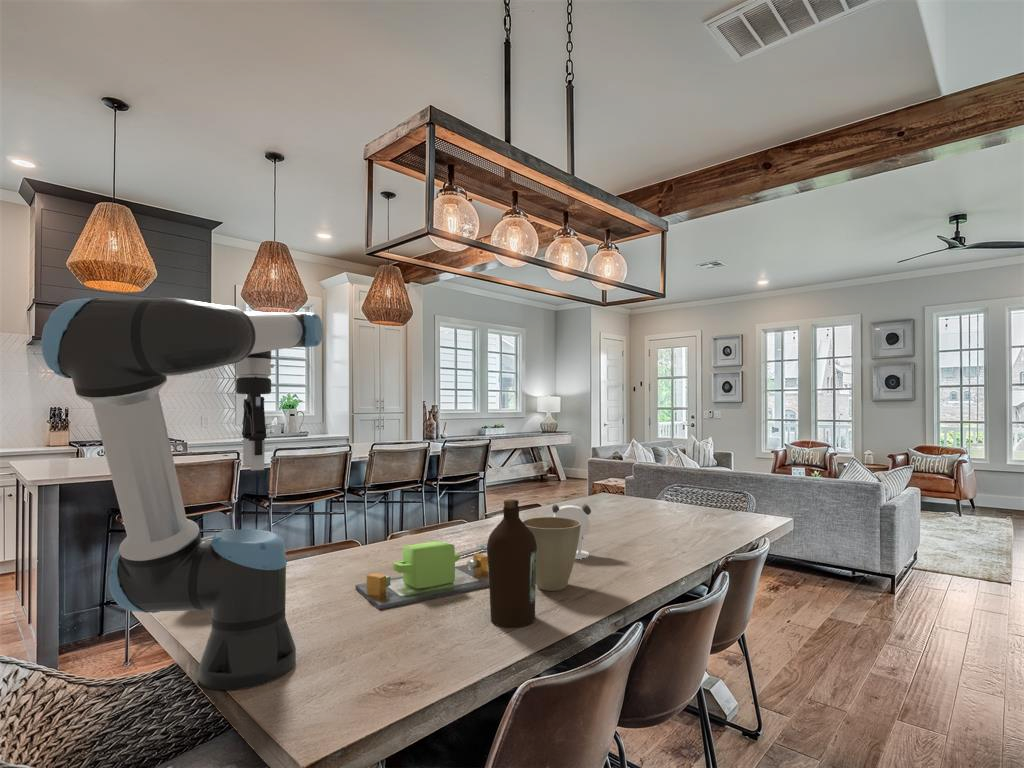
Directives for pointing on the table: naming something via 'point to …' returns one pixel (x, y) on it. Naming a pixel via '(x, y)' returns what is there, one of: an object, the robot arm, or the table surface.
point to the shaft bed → (399, 593)
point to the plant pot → (554, 550)
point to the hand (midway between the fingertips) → (253, 467)
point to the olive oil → (512, 570)
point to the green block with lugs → (427, 564)
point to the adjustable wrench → (474, 549)
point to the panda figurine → (580, 516)
